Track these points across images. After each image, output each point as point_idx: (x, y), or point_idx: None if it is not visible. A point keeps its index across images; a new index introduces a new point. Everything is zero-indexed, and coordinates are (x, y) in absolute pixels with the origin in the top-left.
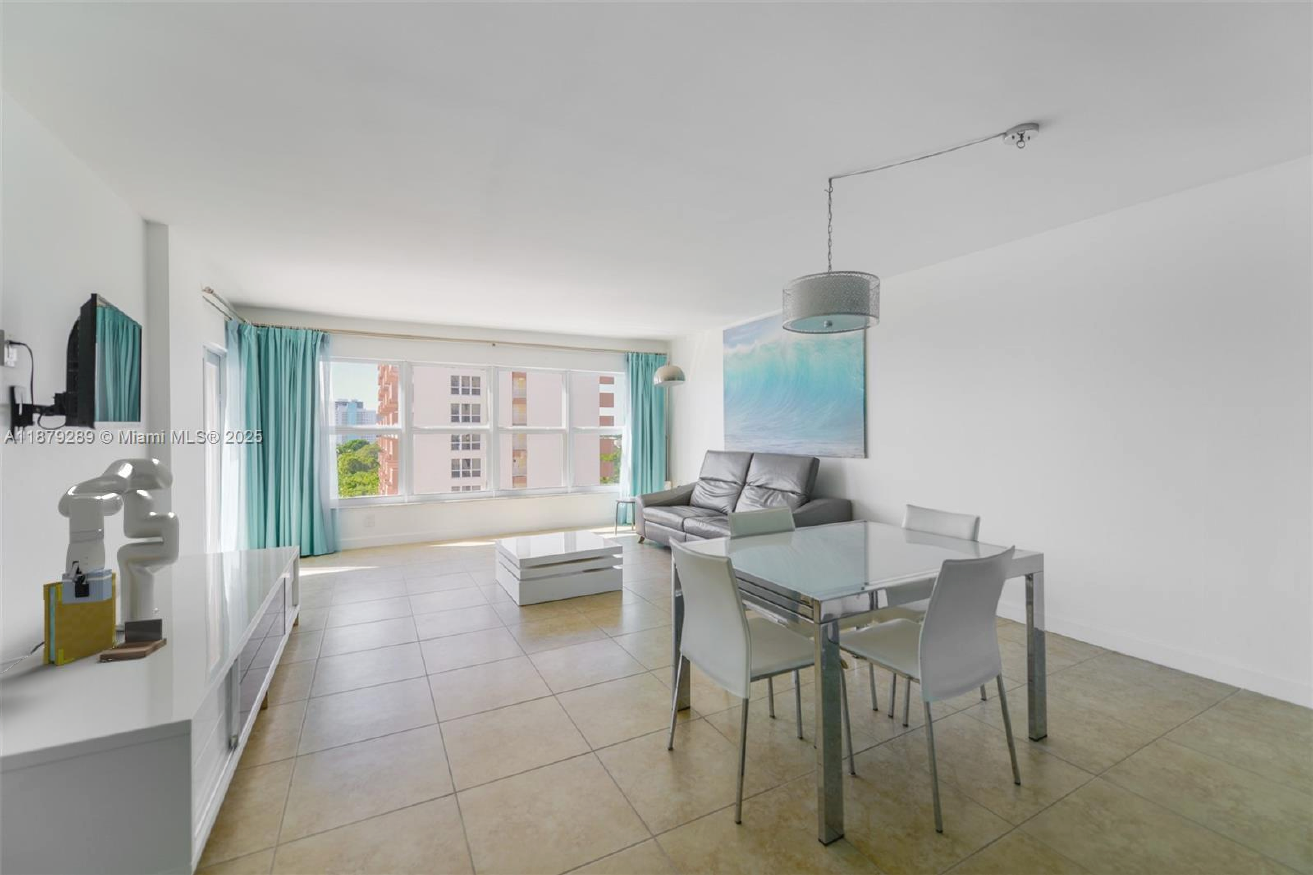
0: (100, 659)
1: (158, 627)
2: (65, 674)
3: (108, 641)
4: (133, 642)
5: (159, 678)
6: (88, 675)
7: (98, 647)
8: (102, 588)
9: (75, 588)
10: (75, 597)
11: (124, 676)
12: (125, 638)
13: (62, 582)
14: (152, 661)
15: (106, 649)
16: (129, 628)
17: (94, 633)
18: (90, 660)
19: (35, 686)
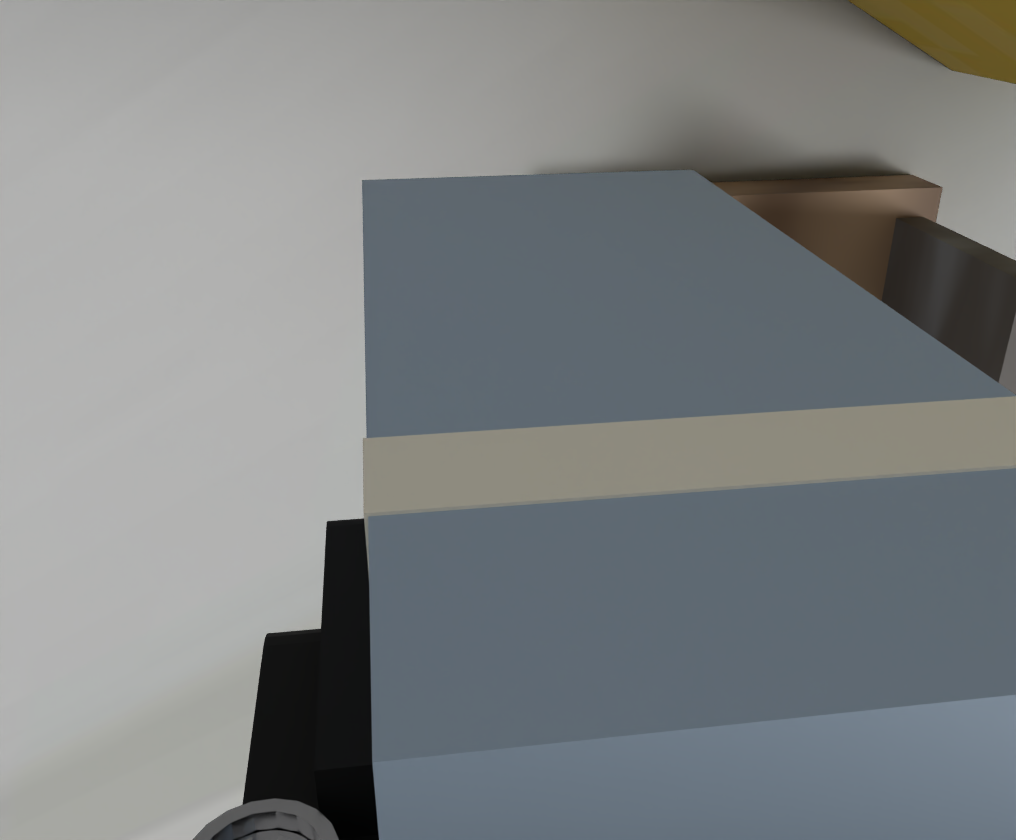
0: None
1: None
2: (301, 90)
3: (974, 61)
4: (877, 289)
5: (85, 798)
6: (233, 311)
7: (892, 14)
8: None
9: (320, 689)
10: (326, 527)
11: (160, 581)
12: (919, 235)
13: (371, 443)
14: None
15: (918, 45)
16: (968, 300)
17: (955, 7)
18: (643, 79)
19: (24, 13)
